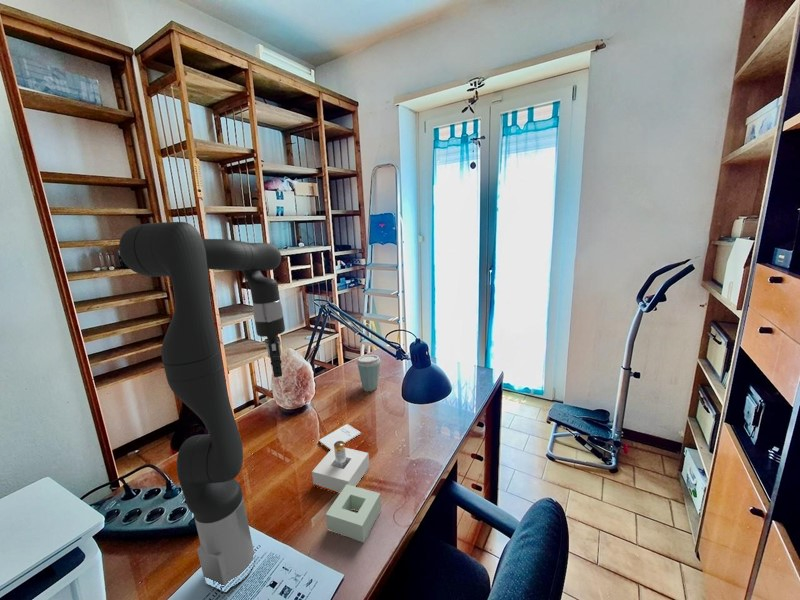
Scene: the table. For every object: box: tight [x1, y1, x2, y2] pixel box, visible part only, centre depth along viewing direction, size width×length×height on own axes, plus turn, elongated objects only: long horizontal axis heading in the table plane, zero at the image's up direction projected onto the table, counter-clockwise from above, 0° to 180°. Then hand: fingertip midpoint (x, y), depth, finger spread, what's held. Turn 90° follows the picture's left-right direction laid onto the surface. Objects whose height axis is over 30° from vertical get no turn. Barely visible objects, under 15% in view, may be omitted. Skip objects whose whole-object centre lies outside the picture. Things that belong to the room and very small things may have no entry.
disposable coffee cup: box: [356, 354, 381, 392], centre depth 151 cm, size 11×11×15 cm
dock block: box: [311, 447, 371, 492], centre depth 100 cm, size 12×12×5 cm
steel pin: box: [334, 441, 347, 469], centre depth 100 cm, size 3×3×11 cm
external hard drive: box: [317, 423, 362, 450], centre depth 118 cm, size 2×8×12 cm
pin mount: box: [325, 484, 382, 543], centre depth 85 cm, size 10×10×5 cm
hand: (277, 370), depth 98 cm, fingers open, 8 cm apart
